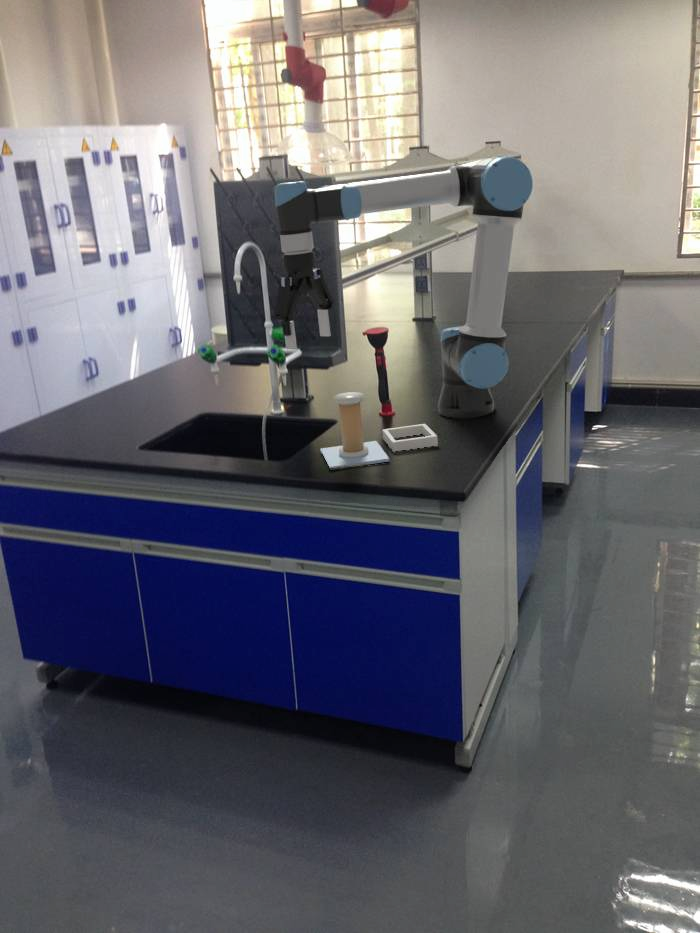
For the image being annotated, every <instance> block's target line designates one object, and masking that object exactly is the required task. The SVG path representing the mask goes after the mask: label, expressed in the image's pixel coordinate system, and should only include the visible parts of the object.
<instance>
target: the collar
mask: <svg viewBox="0 0 700 933" xmlns="http://www.w3.org/2000/svg"><path fill="white" fill-rule="evenodd" d="M420 434H423V435H424V436H425V437H424V436H423V435H422V436H421V435H420ZM413 435H417V437H414V436H413ZM406 436H410V437H412V438H407V437H406ZM418 436H419V437H418ZM399 437H403V438H404V439H400V438H399ZM394 438H396V439H399V440H396V439H394ZM382 440H383V441H384V442H385V443H386V445H387V444H388V445H387V446H388V447H389V449H390V450H391V449H392V450H391V451H392V452H393V453H396V452H395V451H399V452H402V451H401V450H406V451H411V450H410V449H413V450H418V449H417V448H420V449H425V448H424V447H427V448H432V447H431V446H434V447H438V446H439V443H438V442H439V441H438V435H437V433H435V432H434V431H433V430H432V429H431V428H430V427H429V426H428V425H427V424H426V423H420V424H412V425H407V426H406V425H404V426H398V427H391V428H385V429H382Z"/></svg>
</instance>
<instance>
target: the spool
mask: <svg viewBox="0 0 700 933" xmlns="http://www.w3.org/2000/svg"><path fill="white" fill-rule="evenodd" d="M363 401H365V395H364V393H362V392H359V391H350V392H349V391H348V392H343V393H342V392H341V393H338V394H335V395H334V396H333V403H335V404H337V405H338V412H339V421H340V422H339V423H340V430H341V431H340V432H341V443H342V444H341V446H342V445H343V447H341V448H340V449H339V455H340V456H341V457H344V458H357V457H362V456H365V455H367V454H368V447H367V446H366V445H364V443H363V442H364V434H363V432H364V431H363V420H362V419H363V418H362V408H361V402H363Z"/></svg>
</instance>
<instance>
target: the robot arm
mask: <svg viewBox="0 0 700 933" xmlns="http://www.w3.org/2000/svg"><path fill="white" fill-rule="evenodd" d="M273 191H274V192H273V193H274V200H275V202H274V203H275V205H274V207H275V212H276V219H277V220H276V221H277V226H278V231H279V233H278V234H279V237H280V239H279V240H280V248H281V252H282V253H284V254H283V255H282V256H281V258H282V264H283V270H284V271H286V272H287V277H284V276H283V277H279V278H278V285H279V286H278V293H277V299H276V306H275V311H274V316H273V317H274V318H273V319H274V321H276V322H279V323H280V322H281V329H282V334H283V336H284V343H285V349H286V350H296V349H298V346H297V337H296V329H295V321H294V320H292V318H293V316H294V311H295V309H296V306H297V303H298V300H299V298H300V297H301V296H302V294H305V293H306V292H307V293H308V295H309V296H310V297H311V299H312V300H313V301H314V302H315V304H316V305H317V307H318V308H319V309H317V311H316V312H317V319H318V320H317V322H318V328H319V336H320V337H331V336H332V335H331V334H332V333H331V324H330V320H331V319H330V312H329V311H330V310H331V309H332V308H333V305H334V300H333V297H332V295H331V292H330V289H329V287H328V286H327V283H326V281H325V279H324V275H323V270H322V268H316V265H317V264H316V257H315V252H314V251H312V250H313V249H314V248H315V245H314V238H313V237H314V236H313V231H312V230H313V229H312V224H318V223H326V222H327V223H328V222H336V221H337V222H338V221H349V220H352V219H357V218H360V217H361V216H362V215H363V214H364V215H365V214H372V213H379V212H381V213H382V212H388V211H396V210H405V209H414V208H420V207H428V206H429V207H430V206H437V205H438V206H439V205H443V204H450V205H451V206H452V207H455V208H456V207H462V206H464V207H465V206H468V207H469V206H471V207H472V218H474V219H475V221H476V222H477V228H476V236H475V245H474V253H473V254H474V255H473V262H472V263H473V264H472V271H471V279H470V286H469V287H470V288H469V297H468V306H467V315H466V322H465V323H464V325H461V326H453V327H452V326H451V327H448V328H445V329H443V330H442V331H441V332H440V344H441V345H440V346H441V368H442V388H441V392H440V395H439V399H438V403H437V413H438V412H439V413H438V415H440V414H441V415H440V416H442V415H443V417H445V416H446V417H445V418H449V417H452V418H451V419H475V418H480V417H481V418H482V417H483V416H487V415H490V414H492V413H493V412H494V411H495V401H494V399H493V398H494V397H493V394H492V393H491V389H490V388H491V387H494V386H496V385H497V384H499V383H500V382H501V381H502V380H503V379H504V377H505V376H506V374H507V373H508V371H509V370H508V369H509V363H510V362H509V357H508V355H507V353H506V351H505V350H506V349H505V347H506V342H507V340H506V339H507V333H506V332H505V330H504V329H503V328H502V323H503V314H504V306H505V299H506V291H507V284H508V277H509V269H510V268H509V267H510V259H511V252H512V246H513V245H512V244H513V236H514V229H515V227H516V226H515V225H517V224H518V223H519V222H520V221H521V220H522V218H523V213H524V212H523V211H524V205H525V204H526V203H527V201H528V200H529V198H530V197H531V195H532V192H533V176H532V173H531V171H530V169H529V168H528V166H527V164H525V163H524V162H523V161H521V160H520V159H518V158H515V157H512V156H508V155H499V156H494V157H492V156H491V157H485V158H482V159H478V160H474V161H472V162H467V163H463V164H459V165H458V164H457V165H451V166H450V167H449V168H448V169H447V170H444V171H438V172H437V171H436V172H431V173H429V172H427V173H421V174H413V175H406V176H395V177H388V178H381V179H374V180H367V181H366V180H363V181H356V182H348V183H341V184H333V185H331V184H330V185H329V184H328V185H327V184H326V185H322V186H320V187H317V188H308V184H307V183H306V181H304V180H301V181H300V180H299V181H290V182H281V183H278V184H276V185H275V187H274V190H273Z"/></svg>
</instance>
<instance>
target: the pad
mask: <svg viewBox="0 0 700 933" xmlns="http://www.w3.org/2000/svg"><path fill="white" fill-rule="evenodd" d="M363 443H364V445H366V446H367V447H368V454H367V455H365V456H362V457H357V458H344V457H341V456H340V455H339V449H340V448H341V447H343V445H342V444H341V445H337V446H329V447H321V448H320V449H319V450H320V454H321V453H322V454H323V456H324V458H325V460H326V462H327V464H328V466H329V468H337V467H344V466H353V465H360V464H372V463H373V464H374V463H381V462H388V461H390V458H389V456H388V455H387V453H386V452H385V451H384V449H383V448H382V446H381V445H380V444H379V442H378V441H377V440H372V441H366V442H364V441H363ZM322 454H321V455H322ZM323 456H322V457H323ZM324 458H323V459H324ZM325 460H324V461H325ZM326 462H325V463H326ZM327 464H326V465H327ZM328 466H327V467H328ZM329 468H328V469H329Z"/></svg>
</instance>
